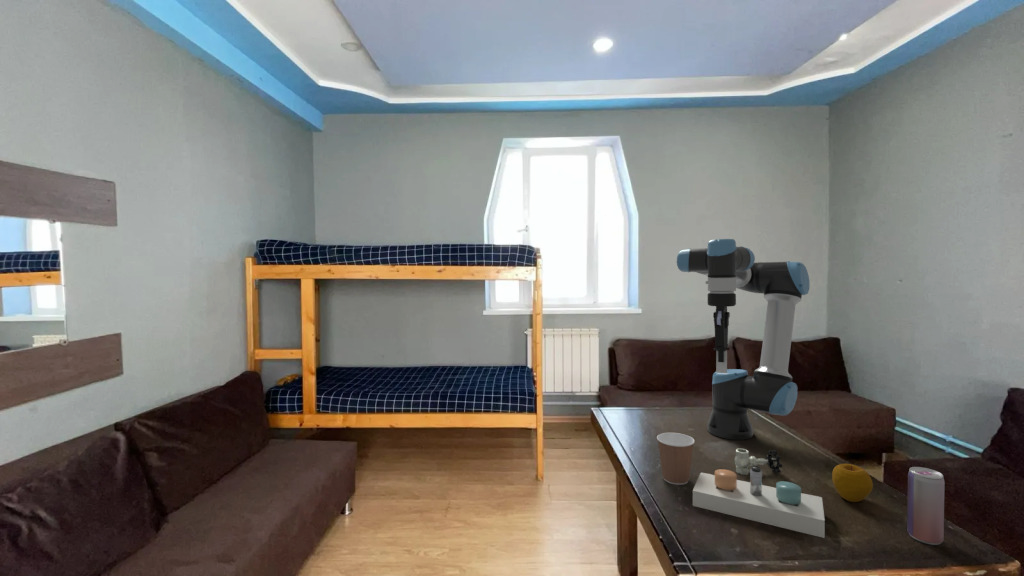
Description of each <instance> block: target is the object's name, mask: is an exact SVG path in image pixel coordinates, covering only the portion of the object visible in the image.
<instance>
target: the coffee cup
mask: <svg viewBox="0 0 1024 576" xmlns="http://www.w3.org/2000/svg"><path fill="white" fill-rule="evenodd" d="M656 439H657V442H658V450H659V460H660V467H661V468H660V469H661V474H662V479H663V480H664V481H665V482H667V483H668V484H672V485H675V486H676V485H679V486H681V485H687V484H688V483H689V480H690V477H691V467H692V458H693V452H694V450H693V449H694V444H695V442H696V441H695V439H694V437H692V436H690V435H687V434H684V433H679V432H663V433H660V434H659V433H658V435H657V436H656Z"/></svg>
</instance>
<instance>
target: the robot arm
mask: <svg viewBox="0 0 1024 576" xmlns="http://www.w3.org/2000/svg"><path fill="white" fill-rule="evenodd" d="M755 261H756V257H755V254H754V252H753V251H752V250H751V249H750V248H748V247H744V246H737V243H736V240H735V239H734V238H718V239H711V240H709V241H708V243H707V248H688V249H682V250H680V251H679V252H678V253H677V257H676V265H677V269H678V270H679V271H681V272H683V273H697V274H701V275H703V276H706V277H707V280H706V281H705V284H706V285H707V291H708V294H707V306H710V307H715V311H714V312H713V316H712V317H713V324H714V348H713V351H716V353H715V354H716V355H715V357H716V358H715V360H716V363H715V367H716V370H715V372H713V374H712V382H711V385H712V387H711V388H712V389H711V390H712V393H711V394H712V396H711V397H712V398H711V399H712V411H711V413H710V416H709V418H708V422H707V431H708V432H709V433H710V434H711V435H713V436H716V437H719V438H722V439H727V440H737V441H739V440H741V441H742V440H748V439H751V438H752V437H754V429H753V426H752V422H751V421H750V417H749V415H748V414H749V413H748V409H749V410H752V411H757V412H761V413H764V414H765V413H766V414H770V415H776V416H781V417H782V416H783V417H784V416H788V415H789V414H790V413H792V411H793V409H794V407H795V405H796V402H797V399H798V394H799V393H798V390H799V389H798V385H797V383H795V382H793V376H792V375H791V374H790V373H789V363H790V355H791V345H792V339H793V329H794V328H793V327H794V321H795V313H796V312H795V311H796V305H798V303H800V302H801V301H802V296H806V295H807V294H809V291H810V276H809V273H808V269H807V267H806V266H805V264H804V263H802V262H800V261H789V260H788V261H769V262H768V261H765V262H761V261H760V262H755ZM737 289H738V290H742V291H745V292H749V293H753V294H763V298H764V299H765V300H766V302H767V306H766V313H765V322H764V330H763V337H762V345H761V346H762V347H761V353H760V361H759V367H758V368H756V369H755V370H754V371H753V375H752V376H751V375H749V373H748V370H746V369H740V368H739V369H737V368H732V369H731V368H729V369H728V351H730V347H728V346H729V343H728V342H729V341H728V340H729V326H730V324H729V323H730V321H729V320H730V317H731V313H730V311H728V307H735V306H736V305H737V294H736V293H735V292H736V291H737Z"/></svg>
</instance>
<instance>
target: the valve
mask: <svg viewBox="0 0 1024 576" xmlns="http://www.w3.org/2000/svg"><path fill="white" fill-rule="evenodd" d="M767 452H768V454H767V455H766V458H763V457H762V458H761V457H759V458H757V457H756V456H754V455H750V452H749V450H747V449H746V448H736V449H735V457H734V464H735V473H736V474H739V475H743V476H744V475H745V476H746V475H750V466H751V467H752V466H758V465H761V466H762V465H764V466H765V465H767V466H768V468H769V469H771V472H772V473H777V474H779V473H780V474H781V468H783V464H782V463H780V460H781V459H782V458H781V455H778V451H777V449H776V450H775V449H774V450H768V451H767Z"/></svg>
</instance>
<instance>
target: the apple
mask: <svg viewBox="0 0 1024 576" xmlns="http://www.w3.org/2000/svg"><path fill="white" fill-rule="evenodd" d="M831 475H832V476H831V477H832V478H831V480H832V483H833V486H834V488H835V489H836V492H837V493H838V495H839V496H840V497H841V498H843V499H844V500H846V501H848V502H852V503H858V502H861V501H863V500H865V498H867V496H869V495H870V494H871V493H872V491H873V488H874V484H873V479H872V478H871V476H870V474H869V473H868V471H867V470H865V469H864V468H862V467H860V466H858V465H855V464H851V463H840V464H837V465H835V467H834V468H833V470H832V473H831Z"/></svg>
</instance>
